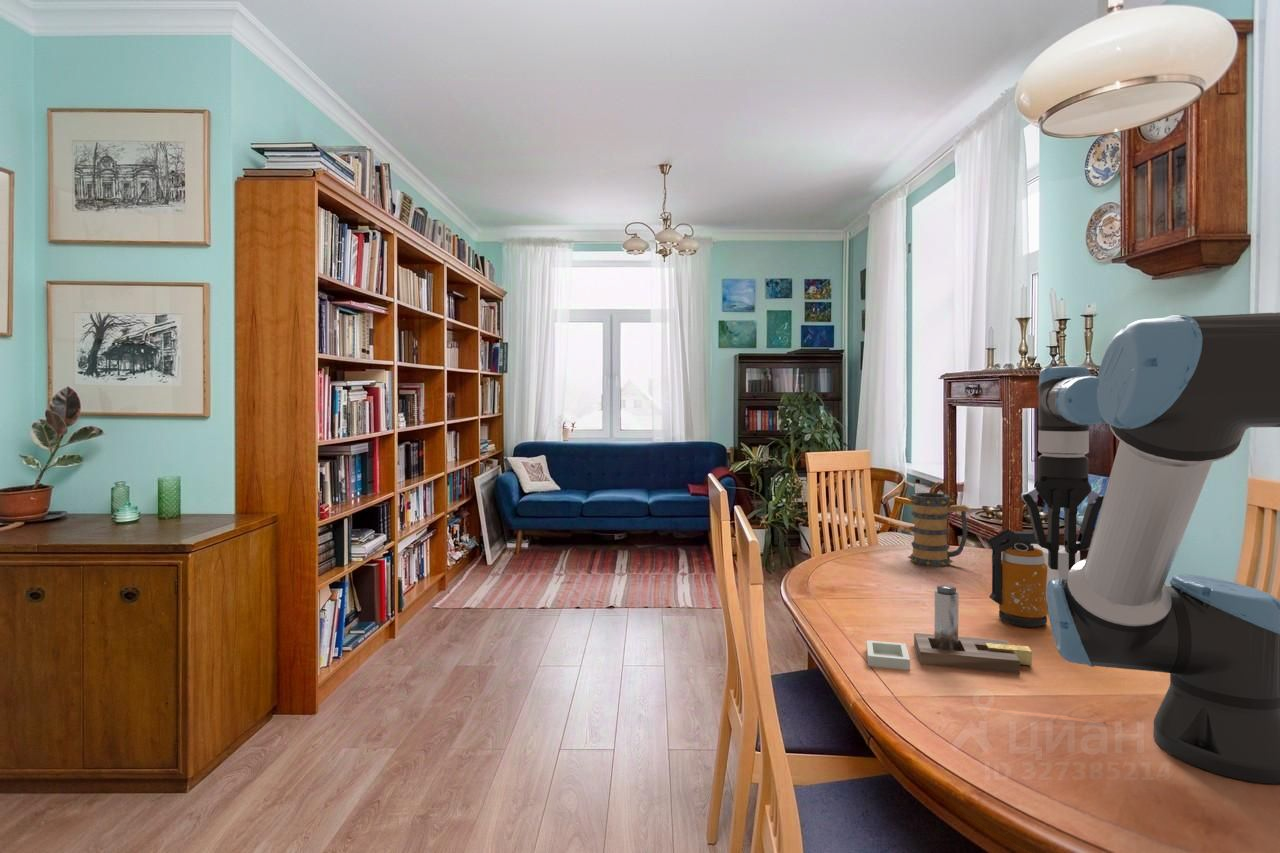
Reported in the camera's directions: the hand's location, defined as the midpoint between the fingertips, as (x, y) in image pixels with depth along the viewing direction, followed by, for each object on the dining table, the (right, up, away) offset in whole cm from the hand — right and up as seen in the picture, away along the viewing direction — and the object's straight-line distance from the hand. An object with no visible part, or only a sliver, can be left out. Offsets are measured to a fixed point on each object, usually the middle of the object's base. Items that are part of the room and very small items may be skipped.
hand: (1061, 587), depth 117 cm
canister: (+7, -14, +26) cm, 31 cm away
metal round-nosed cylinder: (-18, -14, +6) cm, 23 cm away
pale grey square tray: (-29, -15, +5) cm, 33 cm away
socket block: (-15, -15, +5) cm, 22 cm away
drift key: (-8, -15, +3) cm, 17 cm away
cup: (+25, -13, +43) cm, 51 cm away
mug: (+13, -12, +78) cm, 80 cm away
